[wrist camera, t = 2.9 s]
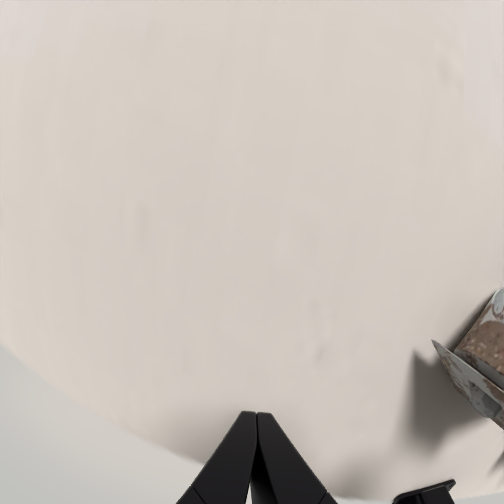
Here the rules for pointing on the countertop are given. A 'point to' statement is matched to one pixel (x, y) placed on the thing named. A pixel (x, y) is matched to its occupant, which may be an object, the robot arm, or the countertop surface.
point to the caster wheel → (481, 361)
